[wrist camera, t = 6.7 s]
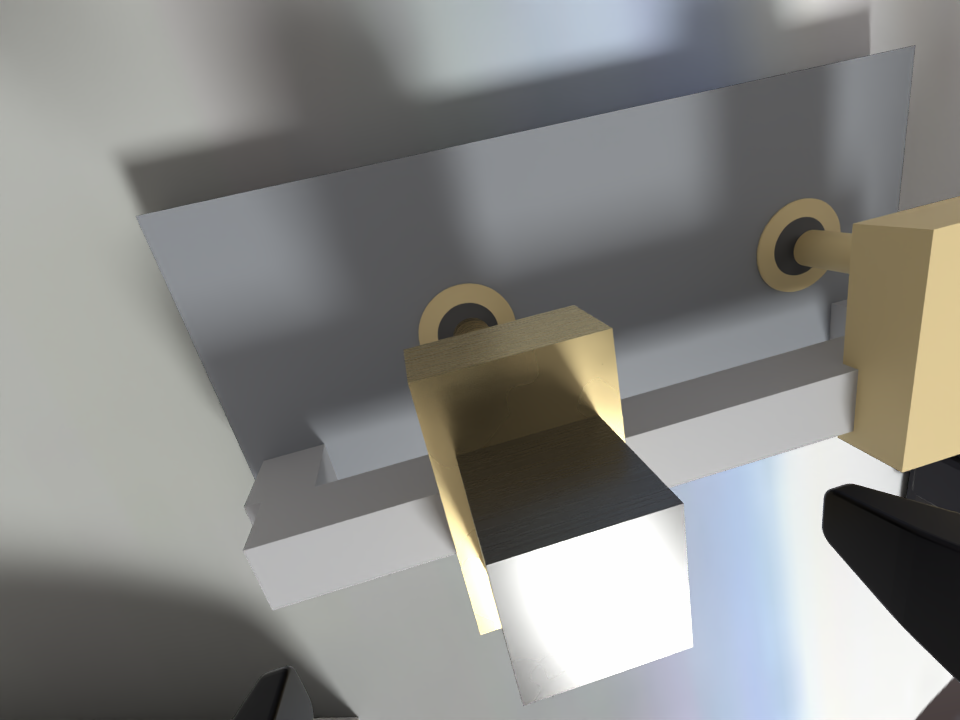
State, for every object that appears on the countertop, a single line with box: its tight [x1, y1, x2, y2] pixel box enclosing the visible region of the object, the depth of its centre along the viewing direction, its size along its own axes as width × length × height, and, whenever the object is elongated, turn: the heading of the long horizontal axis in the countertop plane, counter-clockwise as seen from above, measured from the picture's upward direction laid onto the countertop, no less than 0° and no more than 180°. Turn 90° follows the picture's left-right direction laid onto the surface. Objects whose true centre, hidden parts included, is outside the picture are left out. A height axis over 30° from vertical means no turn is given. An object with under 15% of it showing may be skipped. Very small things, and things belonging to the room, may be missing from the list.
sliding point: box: [403, 305, 693, 706], centre depth 12 cm, size 4×6×9 cm, turn 12°
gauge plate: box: [136, 45, 960, 610], centre depth 14 cm, size 24×12×8 cm, turn 102°
